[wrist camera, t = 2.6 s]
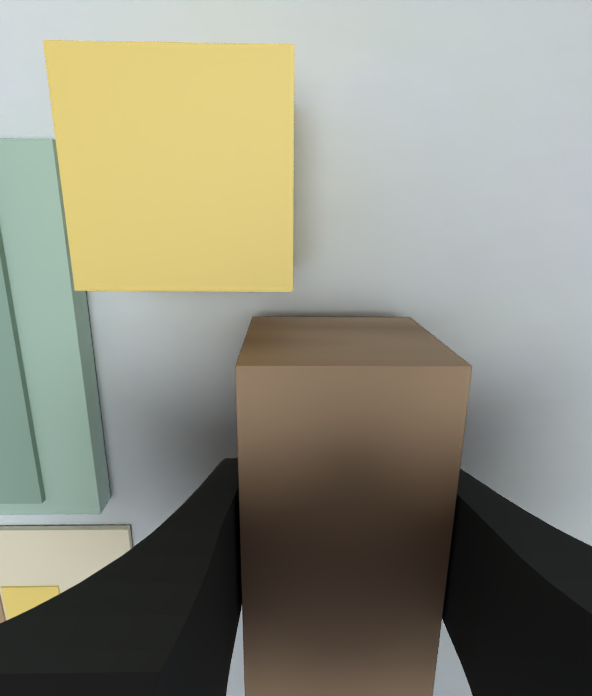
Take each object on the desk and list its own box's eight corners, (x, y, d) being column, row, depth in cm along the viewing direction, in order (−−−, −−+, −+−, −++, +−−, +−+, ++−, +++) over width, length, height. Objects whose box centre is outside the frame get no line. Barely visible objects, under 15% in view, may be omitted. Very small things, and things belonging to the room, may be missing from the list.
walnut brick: (389, 577, 14) (429, 716, 10) (257, 578, 14) (245, 719, 10) (410, 317, 12) (472, 366, 8) (252, 316, 11) (235, 365, 8)
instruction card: (146, 671, 16) (143, 678, 16) (-87, 674, 16) (-93, 682, 15) (130, 525, 14) (127, 530, 14) (-131, 526, 14) (-139, 532, 14)
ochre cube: (290, 268, 12) (292, 291, 8) (141, 267, 12) (74, 290, 8) (291, 103, 11) (294, 44, 7) (127, 101, 11) (43, 39, 7)
